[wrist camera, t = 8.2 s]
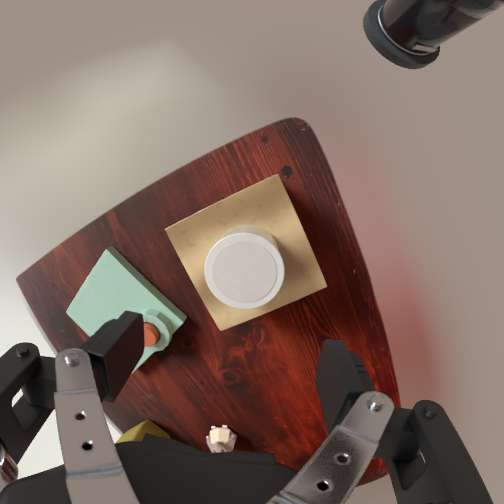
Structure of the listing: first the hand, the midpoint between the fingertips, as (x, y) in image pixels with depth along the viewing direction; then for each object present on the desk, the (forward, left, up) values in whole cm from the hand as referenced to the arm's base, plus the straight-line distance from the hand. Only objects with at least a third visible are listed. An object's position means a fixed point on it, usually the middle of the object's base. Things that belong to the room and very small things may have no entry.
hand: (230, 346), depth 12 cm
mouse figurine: (+37, 0, -24) cm, 44 cm away
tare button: (+14, -12, -21) cm, 27 cm away
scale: (+13, -17, -24) cm, 32 cm away
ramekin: (0, 0, -14) cm, 14 cm away
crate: (0, 0, -24) cm, 24 cm away
